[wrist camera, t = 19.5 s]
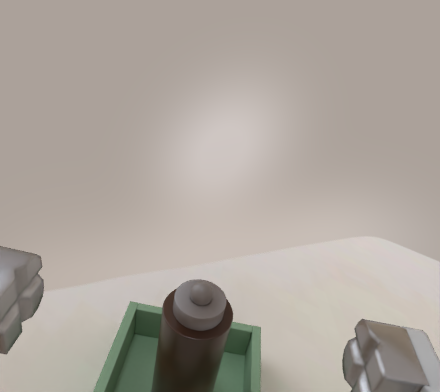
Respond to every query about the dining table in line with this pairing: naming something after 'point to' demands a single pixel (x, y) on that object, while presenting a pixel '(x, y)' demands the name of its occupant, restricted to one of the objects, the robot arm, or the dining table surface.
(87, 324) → the dining table surface
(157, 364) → the pepper mill
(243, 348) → the tray
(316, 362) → the dining table surface
